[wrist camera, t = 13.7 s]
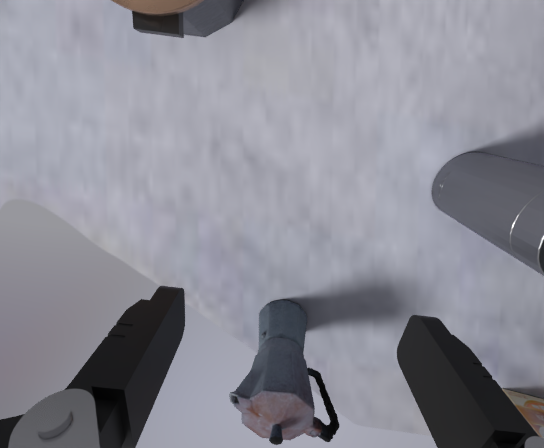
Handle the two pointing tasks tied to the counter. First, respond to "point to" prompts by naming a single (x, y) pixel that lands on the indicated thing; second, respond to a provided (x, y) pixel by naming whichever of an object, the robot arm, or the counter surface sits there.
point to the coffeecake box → (529, 409)
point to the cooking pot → (190, 19)
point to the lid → (158, 6)
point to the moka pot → (282, 380)
